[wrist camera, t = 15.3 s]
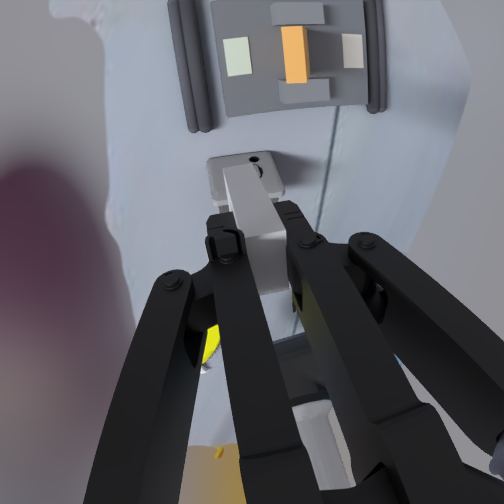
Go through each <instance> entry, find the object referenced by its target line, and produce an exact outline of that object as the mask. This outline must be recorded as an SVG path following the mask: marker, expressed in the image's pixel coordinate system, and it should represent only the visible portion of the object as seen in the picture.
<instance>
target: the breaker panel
mask: <svg viewBox="0 0 504 504" xmlns="http://www.w3.org/2000/svg"><path fill="white" fill-rule="evenodd" d="M210 5H211V12H212V19H213V27H214V34H215V41H216V48H217V55H218V62H219V69H220V76H221V83H222V90H223V98H224V104H225V111H226V115H227V117H228V118H229V117H236V116H242V115H249V114H256V113H264V112H272V111H280V110H290V109H300V108H311V107H325V106H341V105H365V104H368V75H367V50H366V33H365V20H364V8H363V0H216V1H212V2H211V4H210ZM288 26H303V27H304V28H305V29H307V39H308V50H309V62H310V76H309V79H308V81H307V83H287V82H286V71H285V61H284V50H283V41H282V31H281V27H288Z"/></svg>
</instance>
